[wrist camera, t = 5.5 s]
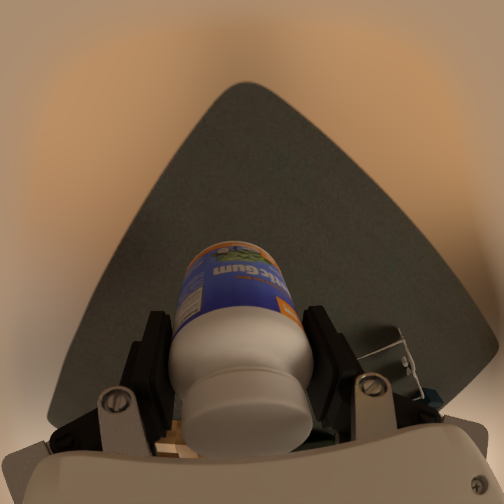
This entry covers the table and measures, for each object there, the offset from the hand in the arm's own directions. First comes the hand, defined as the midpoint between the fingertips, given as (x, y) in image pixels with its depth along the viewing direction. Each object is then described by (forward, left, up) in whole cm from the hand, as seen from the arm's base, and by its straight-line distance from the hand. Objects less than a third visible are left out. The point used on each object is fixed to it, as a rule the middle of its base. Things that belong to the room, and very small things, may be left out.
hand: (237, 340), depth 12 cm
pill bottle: (0, 0, -5) cm, 5 cm away
